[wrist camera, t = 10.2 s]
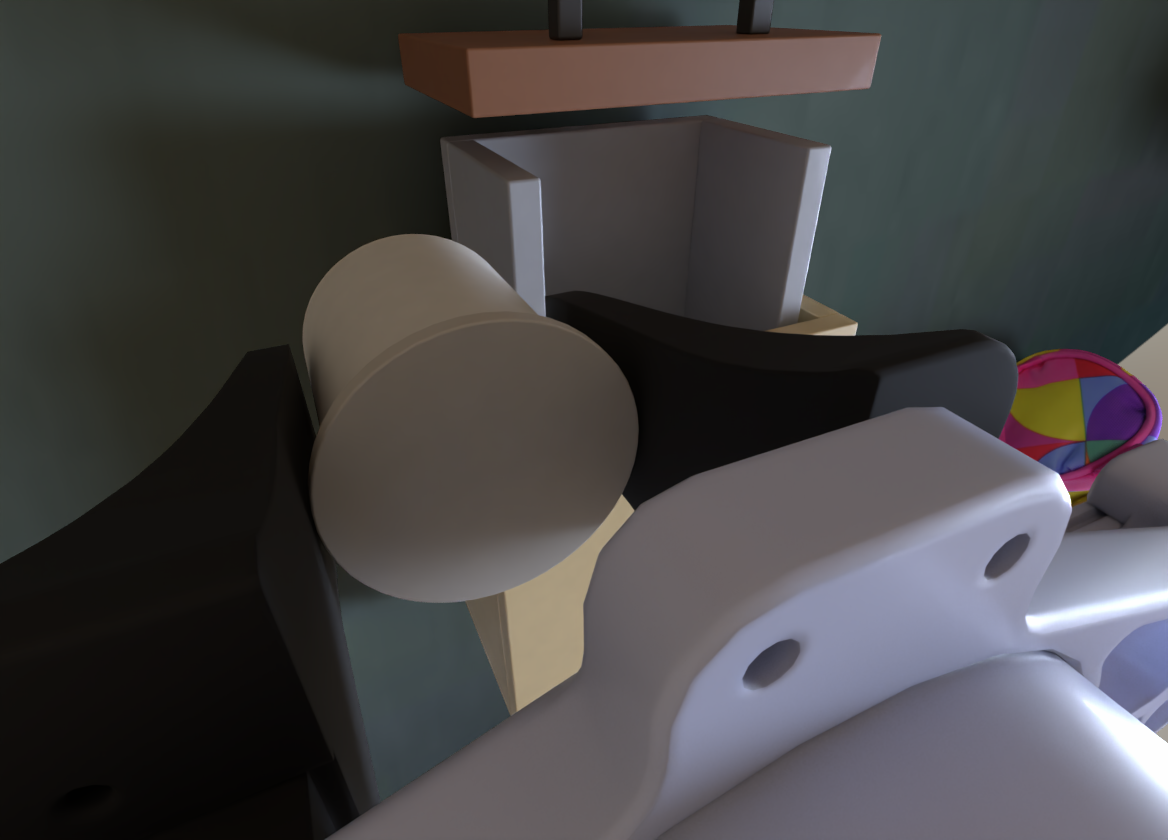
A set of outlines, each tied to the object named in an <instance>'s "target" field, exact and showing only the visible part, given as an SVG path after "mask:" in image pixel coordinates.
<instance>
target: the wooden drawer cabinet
mask: <svg viewBox="0 0 1168 840" xmlns="http://www.w3.org/2000/svg"><path fill="white" fill-rule="evenodd" d="M857 325H858V323H857V322H855V321H853V320H851V319H849V318H847V317H845V316H843V315H842V314H839V313H838V312H836V311H834V310H832V309H830V308H828V307H826V306H824V305H823V304H821V303H819V302H817V301H815V300H813V299H811V298H809V297H807V296H805V295H803V296H802V302H801V307H800V312H799V317H798V322H797V323H796V324H792V325H788V326H783V327H779V328H775V329H770V330H766V331H768V332H778V333H791V334H807V335H832V336H855V333H856V329H857ZM633 512H634V509H633V508H632V507H631V505H630V504H629V503H628V501H627V500H626V499H625V498H624V496H623V495H621V496H620V498H619V500H618V501H617V503H616V505H615V507H614V508H613V510H612V511H611V512H610V514H609V515H608V517H607V518H606V519H605V521H604V522H603V523H602V524H601V526H600V527H599V528H598V529H597V530H596V531H595V532H594V534H593V535H592V536H591V537H590V538H589V539H588V540H587V541H586V542H585V543H583V544H582V545H581V546H580V547H579V548H578V549H577V550H576V551H575V552H573V553H572V554H571V555H570V556H568V557H567V558H566V559H564V560H563V561H562V562H560V563H559V564H557V565H556V566H554V567H553V568H551V569H550V570H548V571H547V572H545V573H543V574H541V575H539V576H538V577H536V578H534V579H532V580H530V581H528V582H526V583H524V584H521V585H519V586H517V587H514V588H512V589H509V590H506V591H503V592H500V593H498V594H495V595H491V596H487V597H482V598H478V599H474V600H467V601H465V602H466V604H467V607H468V610H469V612H470V615H471V617H472V620H473V622H474V625H475V627H476V630H477V632H478V635H479V637H480V640H481V642H482V645H483V647H484V650H485V653H486V655H487V658H488V660H489V663H490V665H491V668H492V670H493V673H494V675H495V678H496V680H497V683H498V685H499V688H500V690H501V693H502V696H503V698H504V701H505V703H506V706H507V708H508V711H509V713H510V716H512V715H513V714H515V713H516V712H518V711H519V710H521V709H522V708H524V707H525V706H527V705H528V704H530V703H531V702H533V701H534V700H536V699H537V698H539V697H540V696H542V695H543V694H545V693H546V692H548V691H549V690H551V689H552V688H554V687H555V686H557V685H559V684H560V683H562V682H563V681H565V680H566V679H568V678H569V677H571V676H572V675H574V674H575V673H577V672H578V671H579V669H580V668H581V665H582V659H583V653H584V615H583V604H584V600H585V597H586V594H587V591H588V587H589V584H590V581H591V577H592V574H593V571H594V568H595V564H596V561H597V558H598V555H599V553H600V551H601V550H602V548H603V547H604V546H605V544H606V543H607V542H608V541H609V540H610V539H611V538H612V536H613V535H614V534H615V533H616V532H617V531H618V530H619V528H620V527H621V526H622V525H623V524H624V523H625V522H626V520H627V519H628V518H629V517H630V516H631V515H632V514H633Z"/></svg>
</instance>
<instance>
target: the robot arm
mask: <svg viewBox="0 0 1168 840" xmlns="http://www.w3.org/2000/svg"><path fill="white" fill-rule="evenodd" d="M545 312H546V317H549V318H552V319H554V320H557V321H559V322H562V323H565V324H567V325H569V326H571V327H573V328H575V329H576V330H578V331H580V332H582V333H584V334H585V335H586V336H588V337H589V338H590V339H591V340H593V341H594V342H595V343H596V344H598V345H599V346H600V347H601V348H602V349H603V350H604V351H605V352H606V353H607V354H608V355H609V356H610V357H611V358H612V359H613V361H614V362H615V363H616V364H617V365H618V366H619V368H620V370H621V371H622V373H623V374H624V376H625V377H626V379H627V381H628V383H629V386H630V388H631V391H632V393H633V396H634V400H635V404H636V408H637V413H638V425H639V434H638V447H637V452H636V457H635V462H634V465H633V468H632V471H631V474H630V477H629V480H628V482H627V484H626V486H625V488H624V491H623V493H622V495H623V496H624V498H625V499H626V500H627V501H628V503H629V504H630V505H631V507H632V508H633V509H634V512H633V514H632V515H631V516H630V517H629V518H628V519H627V520H626V522H625V523H624V524H623V525H622V526H621V527H620V528H619V530H618V531H617V532H616V533H615V534H614V535H613V536H612V538H611V539H610V540H609V541H608V542H607V543H606V544H605V546H604V547H603V548H602V550H601V551H600V553H599V555H598V558H597V561H596V564H595V568H594V571H593V574H592V577H591V581H590V584H589V587H588V591H587V594H586V597H585V600H584V604H583V615H584V653H583V659H582V665H581V668H580V669H579V671H578V672H577V673H575V674H574V675H572V676H571V677H569V678H568V679H566V680H565V681H563V682H562V683H560V684H559V685H557V686H555V687H554V688H552V689H551V690H549V691H548V692H546V693H545V694H543V695H542V696H540V697H539V698H537V699H536V700H534V701H533V702H531V703H530V704H528V705H527V706H525V707H524V708H522V709H521V710H519V711H518V712H516V713H515V714H513V715H512V716H510V717H509V718H507V719H506V720H504V721H503V722H501V723H500V724H498V725H497V726H495V727H494V728H492V729H491V730H489V731H488V732H486V733H485V734H483V735H481V736H480V737H478V738H477V739H475V740H474V741H472V742H471V743H469V744H468V745H466V746H465V747H463V748H462V749H460V750H459V751H457V752H456V753H454V754H453V755H451V756H450V757H448V758H447V759H445V760H444V761H442V762H441V763H439V764H438V765H436V766H435V767H433V768H432V769H430V770H429V771H427V772H426V773H424V774H423V775H421V776H420V777H418V778H417V779H415V780H414V781H412V782H411V783H409V784H407V785H406V786H404V787H403V788H401V789H400V790H398V791H397V792H395V793H394V794H392V795H391V796H389V797H388V798H386V799H385V800H383V801H382V802H381V801H380V796H379V792H378V787H377V782H376V778H375V773H374V769H373V764H372V760H371V755H370V751H369V746H368V741H367V737H366V732H365V728H364V723H363V718H362V714H361V709H360V704H359V700H358V695H357V690H356V685H355V681H354V676H353V671H352V667H351V662H350V657H349V652H348V647H347V642H346V638H345V633H344V628H343V623H342V617H341V610H340V602H339V594H338V582H337V570H336V561H335V560H334V558H333V557H332V556H331V555H330V553H329V552H328V551H327V549H326V548H325V546H324V544H323V542H322V540H321V538H320V536H319V534H318V532H317V529H316V526H315V523H314V519H313V516H312V512H311V506H310V498H309V489H308V474H309V462H310V458H311V453H312V449H313V444H314V441H315V439H316V435H315V431H314V428H313V425H312V421H311V418H310V414H309V411H308V408H307V404H306V401H305V397H304V394H303V391H302V387H301V384H300V380H299V377H298V374H297V370H296V367H295V363H294V360H293V357H292V353H291V350H290V346H289V344H287V345H282V346H276V347H271V348H266V349H260V350H255V351H250V352H247V354H246V355H245V356H244V358H243V359H242V360H241V362H240V363H239V364H238V366H237V367H236V369H235V370H234V372H233V373H232V374H231V376H230V377H229V379H228V380H227V381H226V383H225V384H224V386H223V387H222V389H221V390H220V391H219V393H218V394H217V395H216V396H215V398H214V399H213V400H212V402H211V403H210V404H209V406H208V407H207V408H206V409H205V410H204V411H203V412H202V413H201V414H200V416H199V417H198V418H197V419H196V420H195V421H194V422H193V423H192V425H191V426H190V427H189V428H188V429H187V430H186V431H185V432H184V433H183V435H182V436H181V437H180V438H179V439H178V440H177V441H176V442H175V443H174V444H173V445H172V446H171V447H170V448H169V449H168V450H166V451H165V452H164V453H163V454H162V455H161V456H160V457H159V458H158V459H157V460H155V461H154V462H153V463H152V464H151V465H150V466H148V467H147V468H146V469H145V470H144V471H142V472H141V473H140V474H139V475H138V476H136V477H135V478H134V479H133V480H131V481H130V482H129V483H128V484H126V485H125V486H123V487H122V488H120V489H119V490H118V491H116V492H115V493H113V494H112V495H111V496H109V497H108V498H106V499H105V500H103V501H102V502H101V503H99V504H98V505H96V506H95V507H94V508H92V509H91V510H89V511H88V512H86V513H85V514H84V515H82V516H81V517H79V518H78V519H76V520H75V521H73V522H72V523H70V524H68V525H67V526H65V527H64V528H62V529H60V530H59V531H57V532H55V533H54V534H52V535H50V536H49V537H47V538H45V539H44V540H42V541H40V542H39V543H37V544H35V545H33V546H31V547H30V548H28V549H26V550H24V551H23V552H21V553H19V554H17V555H15V556H14V557H12V558H10V559H8V560H6V561H5V562H3V563H1V564H0V840H1168V743H1166V742H1165V741H1164V740H1163V739H1161V738H1160V737H1159V736H1158V735H1156V734H1155V733H1157V732H1158V731H1159V730H1161V729H1162V728H1163V727H1165V726H1166V725H1167V724H1168V441H1166V440H1164V439H1158V440H1154V441H1151V442H1149V443H1147V444H1144V445H1142V446H1139V447H1137V448H1135V449H1132V450H1130V451H1127V452H1125V453H1123V454H1120V455H1118V456H1116V457H1115V458H1113V459H1112V460H1110V461H1109V462H1108V463H1107V464H1106V465H1105V466H1104V467H1103V468H1102V470H1101V471H1100V472H1099V474H1098V475H1097V477H1096V478H1095V480H1094V482H1093V484H1092V486H1091V488H1090V490H1089V492H1088V494H1087V502H1084V503H1082V504H1080V505H1077V506H1075V507H1073V508H1072V506H1071V501H1070V496H1069V494H1068V492H1067V490H1066V488H1065V486H1064V484H1063V482H1062V480H1061V478H1060V476H1059V474H1058V473H1056V472H1055V471H1053V470H1051V469H1050V468H1048V467H1046V466H1044V465H1043V464H1041V463H1039V462H1037V461H1036V460H1034V459H1032V458H1030V457H1029V456H1027V455H1025V454H1023V453H1022V452H1020V451H1018V450H1017V449H1015V448H1013V447H1011V446H1010V445H1008V444H1006V443H1004V442H1003V441H1001V440H999V437H1000V435H1001V432H1002V430H1003V428H1004V425H1005V423H1006V420H1007V418H1008V416H1009V413H1010V411H1011V408H1012V405H1013V402H1014V399H1015V396H1016V393H1017V385H1018V375H1019V374H1018V368H1017V364H1016V359H1015V355H1014V354H1013V352H1012V351H1011V350H1010V349H1009V348H1008V346H1007V345H1006V344H1004V343H1001V342H999V341H997V340H995V339H993V338H990V337H988V336H986V335H984V334H982V333H980V332H977V331H974V330H965V329H959V330H947V331H934V332H922V333H909V334H897V335H862V336H832V335H807V334H791V333H778V332H768V331H759V330H752V329H745V328H738V327H731V326H725V325H720V324H714V323H709V322H705V321H700V320H696V319H691V318H687V317H682V316H678V315H674V314H670V313H666V312H663V311H659V310H655V309H652V308H648V307H644V306H641V305H637V304H634V303H630V302H627V301H623V300H619V299H616V298H612V297H608V296H604V295H600V294H596V293H591V292H586V291H576V290H575V291H569V292H564V293H559V294H553V295H548V296H545Z"/></svg>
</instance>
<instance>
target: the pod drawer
mask: <svg viewBox="0 0 1168 840" xmlns="http://www.w3.org/2000/svg"><path fill="white" fill-rule="evenodd" d="M773 3H774V0H740V2H739V11H738V20H737V26H735V25H715V26H676V27H637V28H598V29H583V9H582V0H548V19H549V30H520V31H481V32H442V33H403V34H398V40H399V47H400V54H401V61H402V68H403V75H404V82H405V85H407V86H409V87H411V88H413V89H415V90H417V91H419V92H421V93H423V94H425V95H427V96H429V97H431V98H433V99H436V100H438V101H440V102H442V103H444V104H446V105H448V106H450V107H452V108H454V109H456V110H458V111H460V112H462V113H464V114H466V115H468V116H470V117H472V118H481V117H495V116H508V115H522V114H535V113H549V112H562V111H576V110H589V109H603V108H616V107H630V106H643V105H657V104H670V103H684V102H697V101H711V100H724V99H738V98H751V97H765V96H778V95H792V94H806V93H819V92H833V91H846V90H860V89H868V88H870V86H871V81H872V76H873V72H874V67H875V62H876V58H877V53H878V48H879V44H880V39H881V35H880V34H877V33H859V32H842V31H824V30H806V29H788V28H770V26H771V18H772V10H773ZM440 143H441V152H442V160H443V169H444V177H445V185H446V194H447V202H448V211H449V219H450V228H451V236H452V241H454V242H457V243H459V244H462V245H464V246H465V247H467V248H469V249H470V250H472V251H474V252H475V253H477V254H478V255H479V256H480V257H482V258H483V259H484V260H485V261H486V262H487V263H488V264H489V265H490V266H491V267H492V268H493V269H494V270H495V271H496V272H497V273H498V274H499V275H500V276H501V277H502V278H503V279H504V280H505V281H506V282H507V283H508V284H509V285H510V286H511V287H512V288H513V289H514V290H515V291H516V292H517V293H518V294H519V295H520V297H521V298H522V299H523V300H524V301H525V302H526V303H527V304H528V305H529V306H530V307H531V308H532V309H533V310H534V311H535V312H536V313H537V314H538V315H540V316H544V317H546V312H545V296H548V295H553V294H559V293H564V292H569V291H575V290H576V291H586V292H591V293H596V294H600V295H604V296H608V297H612V298H616V299H619V300H623V301H627V302H630V303H634V304H637V305H641V306H644V307H648V308H652V309H655V310H659V311H663V312H666V313H670V314H674V315H678V316H682V317H687V318H691V319H696V320H700V321H705V322H709V323H714V324H720V325H725V326H731V327H738V328H745V329H752V330H759V331H766V330H770V329H775V328H779V327H783V326H788V325H792V324H796V323H797V322H798V317H799V312H800V307H801V302H802V296H803V291H804V286H805V281H806V276H807V271H808V265H809V260H810V255H811V250H812V245H813V240H814V234H815V229H816V224H817V219H818V214H819V209H820V203H821V198H822V193H823V188H824V183H825V178H826V172H827V167H828V162H829V157H830V152H831V146H830V145H827V144H823V143H819V142H815V141H811V140H807V139H803V138H799V137H795V136H790V135H786V134H782V133H778V132H774V131H770V130H766V129H762V128H758V127H754V126H750V125H746V124H742V123H738V122H733V121H729V120H725V119H719V118H717V117H713V116H708V115H702V116H690V117H678V118H666V119H654V120H642V121H630V122H618V123H606V124H594V125H582V126H570V127H558V128H546V129H534V130H522V131H510V132H498V133H486V134H474V135H462V136H450V137H442V138H441V140H440Z"/></svg>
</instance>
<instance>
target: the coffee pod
mask: <svg viewBox="0 0 1168 840" xmlns="http://www.w3.org/2000/svg"><path fill="white" fill-rule="evenodd" d="M302 340H303V349H304V355H305V360H306V364H307V369H308V374H309V378H310V383H311V388H312V392H313V397H314V402H315V406H316V411H317V416H318V420H319V425H320V429H319V431H318V434H317V436H316V439H315V441H314V444H313V449H312V453H311V458H310V462H309V474H308V489H309V498H310V506H311V512H312V516H313V519H314V523H315V526H316V529H317V532H318V534H319V536H320V538H321V540H322V542H323V544H324V546H325V548H326V549H327V551H328V552H329V553H330V555H331V556H332V557H333V558H334V560H335V561H336V562H337V563H338V564H339V565H340V566H341V567H342V568H343V569H344V570H345V571H346V572H348V573H349V574H350V575H351V576H352V577H354V578H355V579H357V580H358V581H360V582H361V583H363V584H364V585H366V586H368V587H370V588H372V589H375V590H377V591H379V592H381V593H384V594H387V595H390V596H393V597H397V598H400V599H405V600H411V601H417V602H430V603H446V602H460V601H467V600H474V599H478V598H482V597H487V596H491V595H495V594H498V593H500V592H503V591H506V590H509V589H512V588H514V587H517V586H519V585H521V584H524V583H526V582H528V581H530V580H532V579H534V578H536V577H538V576H539V575H541V574H543V573H545V572H547V571H548V570H550V569H551V568H553V567H554V566H556V565H557V564H559V563H560V562H562V561H563V560H564V559H566V558H567V557H568V556H570V555H571V554H572V553H573V552H575V551H576V550H577V549H578V548H579V547H580V546H581V545H582V544H583V543H585V542H586V541H587V540H588V539H589V538H590V537H591V536H592V535H593V534H594V532H595V531H596V530H597V529H598V528H599V527H600V526H601V524H602V523H603V522H604V521H605V519H606V518H607V517H608V515H609V514H610V512H611V511H612V510H613V508H614V507H615V505H616V503H617V501H618V500H619V498H620V496H621V495H622V493H623V491H624V488H625V486H626V484H627V482H628V480H629V477H630V474H631V471H632V468H633V465H634V462H635V457H636V452H637V447H638V434H639V425H638V413H637V408H636V404H635V400H634V396H633V393H632V391H631V388H630V386H629V383H628V381H627V379H626V377H625V376H624V374H623V373H622V371H621V370H620V368H619V366H618V365H617V364H616V363H615V362H614V361H613V359H612V358H611V357H610V356H609V355H608V354H607V353H606V352H605V351H604V350H603V349H602V348H601V347H600V346H599V345H598V344H596V343H595V342H594V341H593V340H591V339H590V338H589V337H588V336H586V335H585V334H584V333H582V332H580V331H578V330H576V329H575V328H573V327H571V326H569V325H567V324H565V323H562V322H559V321H557V320H554V319H552V318H549V317H544V316H540V315H538V314H537V313H536V312H535V311H534V310H533V309H532V308H531V307H530V306H529V305H528V304H527V303H526V302H525V301H524V300H523V299H522V298H521V297H520V295H519V294H518V293H517V292H516V291H515V290H514V289H513V288H512V287H511V286H510V285H509V284H508V283H507V282H506V281H505V280H504V279H503V278H502V277H501V276H500V275H499V274H498V273H497V272H496V271H495V270H494V269H493V268H492V267H491V266H490V265H489V264H488V263H487V262H486V261H485V260H484V259H483V258H482V257H480V256H479V255H478V254H477V253H475V252H474V251H472V250H470V249H469V248H467V247H465V246H464V245H462V244H459V243H457V242H454V241H452V240H449V239H446V238H442V237H438V236H432V235H425V234H404V235H396V236H390V237H386V238H382V239H379V240H376V241H373V242H371V243H368V244H366V245H363V246H361V247H360V248H358V249H356V250H354V251H353V252H351V253H349V254H348V255H347V256H345V257H344V258H343V259H341V260H340V261H339V262H337V263H336V264H335V265H334V266H333V267H332V268H331V269H330V270H329V271H328V272H327V273H326V275H325V276H324V278H323V279H322V280H321V282H320V283H319V284H318V286H317V287H316V289H315V291H314V293H313V295H312V297H311V299H310V301H309V304H308V307H307V310H306V313H305V318H304V323H303V337H302Z"/></svg>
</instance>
